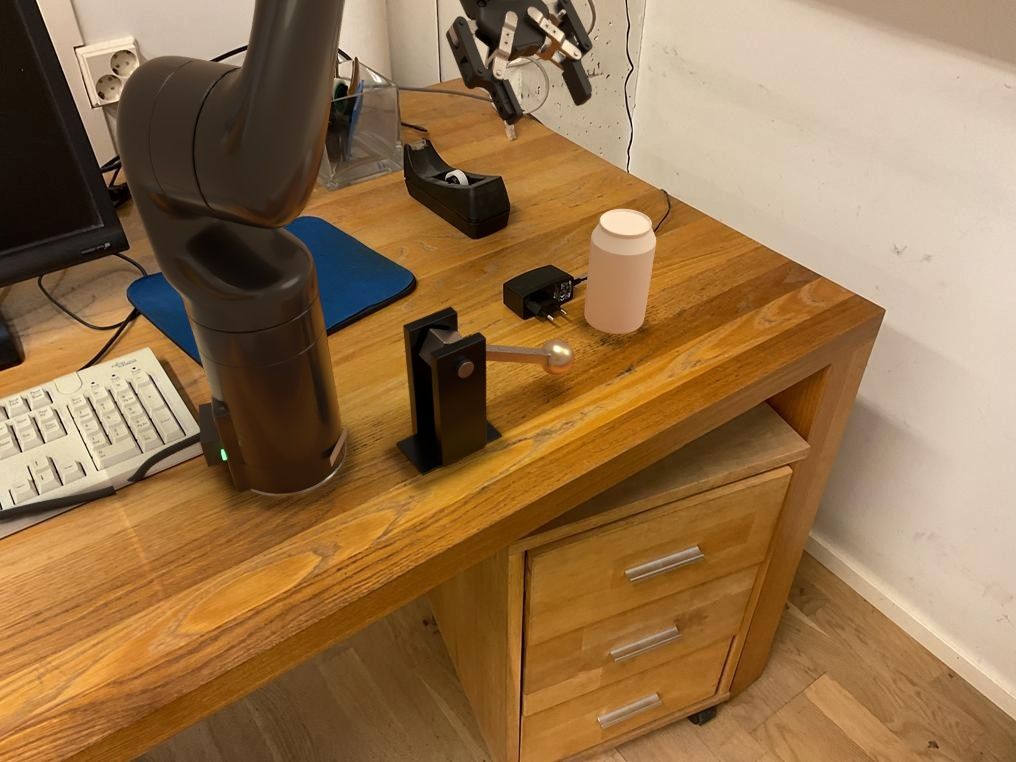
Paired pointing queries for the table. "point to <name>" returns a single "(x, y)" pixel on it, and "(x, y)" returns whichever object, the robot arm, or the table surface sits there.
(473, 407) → the bracket
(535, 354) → the lever
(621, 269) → the beverage can
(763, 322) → the table surface
